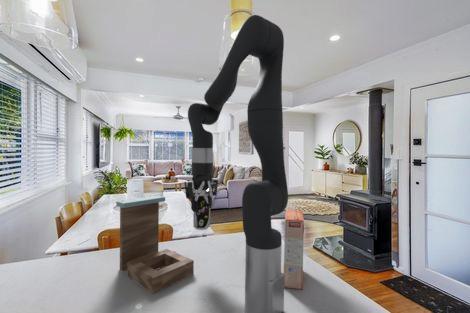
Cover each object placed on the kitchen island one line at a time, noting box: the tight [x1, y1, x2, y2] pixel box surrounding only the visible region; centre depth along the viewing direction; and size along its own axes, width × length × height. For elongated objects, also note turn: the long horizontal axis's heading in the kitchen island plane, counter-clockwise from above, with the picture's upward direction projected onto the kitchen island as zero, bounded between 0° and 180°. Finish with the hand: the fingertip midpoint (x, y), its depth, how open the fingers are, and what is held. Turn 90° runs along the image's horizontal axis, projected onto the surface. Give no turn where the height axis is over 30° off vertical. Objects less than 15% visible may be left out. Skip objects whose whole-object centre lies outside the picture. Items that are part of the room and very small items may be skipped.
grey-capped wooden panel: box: [115, 195, 166, 272], centre depth 87 cm, size 5×16×24 cm, turn 141°
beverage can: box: [192, 192, 211, 231], centre depth 84 cm, size 6×6×12 cm
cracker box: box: [283, 209, 305, 290], centre depth 79 cm, size 14×6×21 cm, turn 167°
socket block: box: [126, 248, 195, 294], centre depth 79 cm, size 15×15×4 cm
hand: (201, 209), depth 84 cm, fingers closed on beverage can, 5 cm apart
